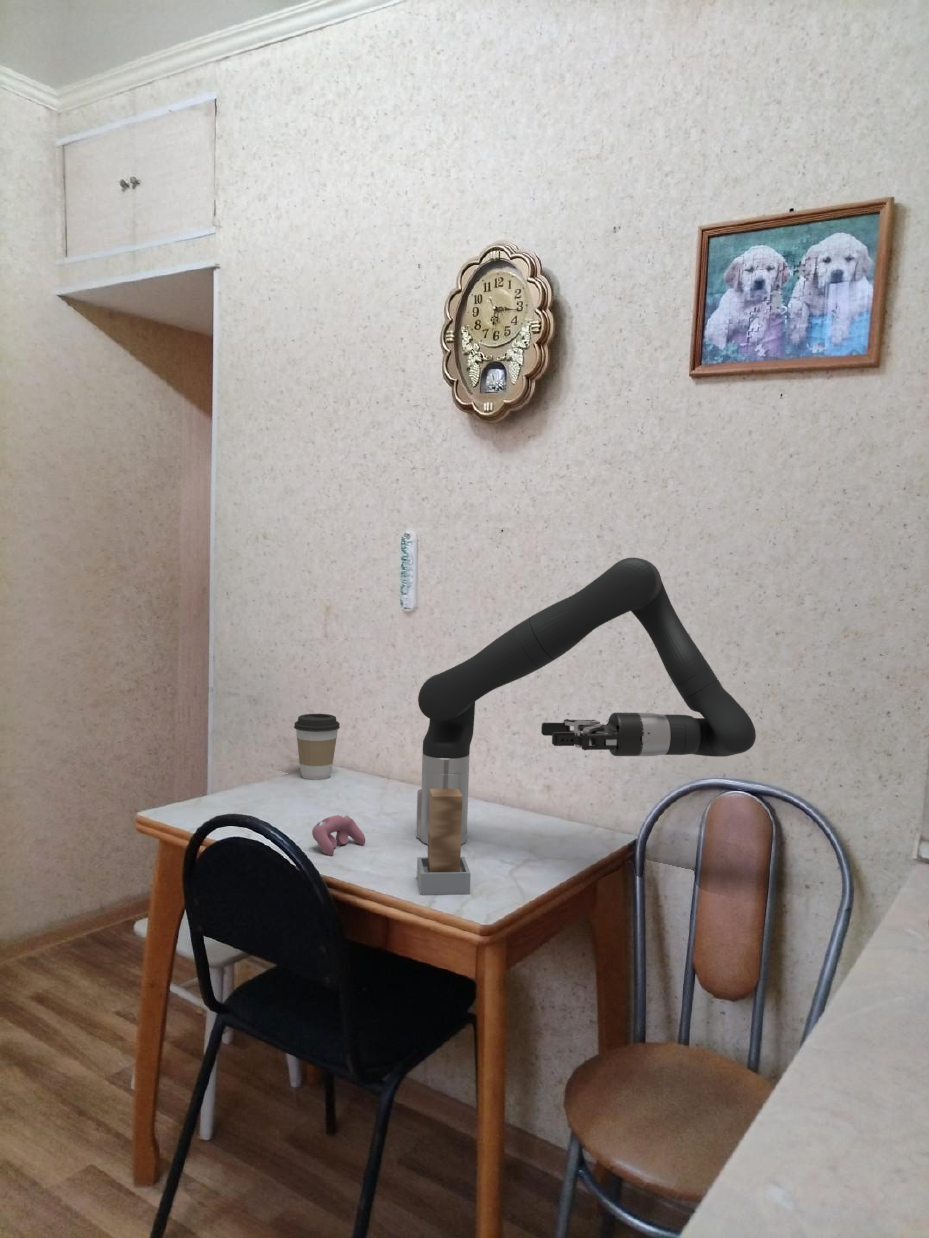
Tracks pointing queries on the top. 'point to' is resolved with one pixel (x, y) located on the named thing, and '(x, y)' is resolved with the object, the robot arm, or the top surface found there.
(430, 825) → the walnut pillar
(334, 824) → the video game controller
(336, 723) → the coffee cup
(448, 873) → the grey open box
